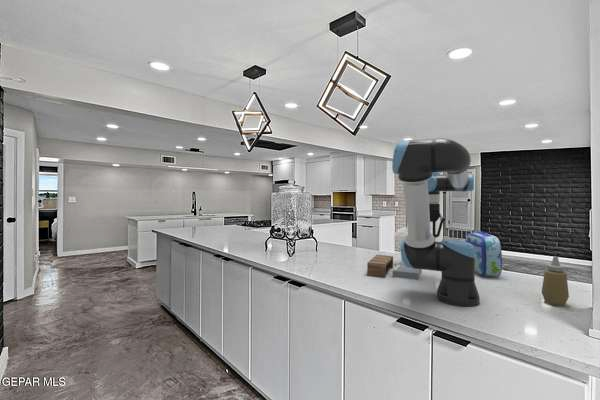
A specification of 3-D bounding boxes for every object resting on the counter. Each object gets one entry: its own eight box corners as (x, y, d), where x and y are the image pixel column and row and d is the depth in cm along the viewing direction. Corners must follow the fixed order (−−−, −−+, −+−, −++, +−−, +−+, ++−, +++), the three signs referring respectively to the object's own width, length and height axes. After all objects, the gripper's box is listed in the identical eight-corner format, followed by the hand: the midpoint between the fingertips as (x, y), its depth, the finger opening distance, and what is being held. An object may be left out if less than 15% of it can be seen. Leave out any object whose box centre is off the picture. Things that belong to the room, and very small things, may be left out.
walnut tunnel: (385, 277, 155) (385, 264, 155) (367, 275, 159) (367, 262, 159) (393, 267, 175) (393, 255, 175) (376, 266, 179) (376, 254, 179)
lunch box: (463, 266, 179) (463, 229, 178) (483, 267, 177) (484, 229, 176) (479, 278, 153) (480, 235, 153) (503, 279, 151) (504, 236, 151)
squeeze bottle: (539, 303, 119) (540, 256, 119) (543, 298, 125) (544, 253, 124) (567, 309, 113) (568, 259, 113) (570, 303, 119) (570, 256, 118)
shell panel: (418, 280, 152) (418, 273, 152) (392, 277, 157) (392, 270, 157) (421, 273, 165) (421, 266, 165) (398, 270, 171) (398, 264, 171)
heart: (414, 270, 169) (414, 229, 169) (389, 265, 181) (389, 226, 181) (438, 262, 188) (438, 225, 187) (414, 258, 199) (414, 223, 199)
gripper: (446, 202, 156) (445, 250, 157) (418, 202, 162) (417, 248, 163) (445, 203, 149) (445, 253, 150) (416, 203, 155) (416, 250, 156)
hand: (431, 250), depth 156 cm, fingers closed
